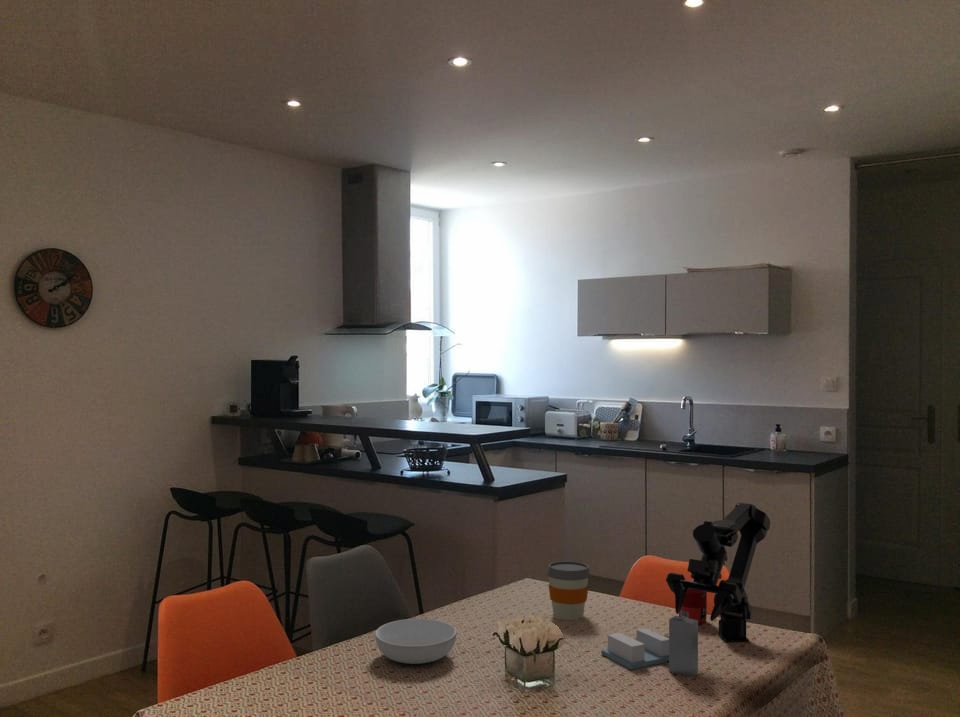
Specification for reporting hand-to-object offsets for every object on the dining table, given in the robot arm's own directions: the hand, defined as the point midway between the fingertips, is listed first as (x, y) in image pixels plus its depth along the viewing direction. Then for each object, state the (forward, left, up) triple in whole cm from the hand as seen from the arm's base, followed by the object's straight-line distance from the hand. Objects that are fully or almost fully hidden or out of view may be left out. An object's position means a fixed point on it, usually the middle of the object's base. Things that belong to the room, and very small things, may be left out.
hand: (693, 616), depth 208 cm
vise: (+10, -8, -12) cm, 18 cm away
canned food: (-12, -36, -12) cm, 40 cm away
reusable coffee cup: (+24, -43, -12) cm, 51 cm away
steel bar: (+4, +5, -12) cm, 14 cm away
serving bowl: (+70, -10, -13) cm, 72 cm away
